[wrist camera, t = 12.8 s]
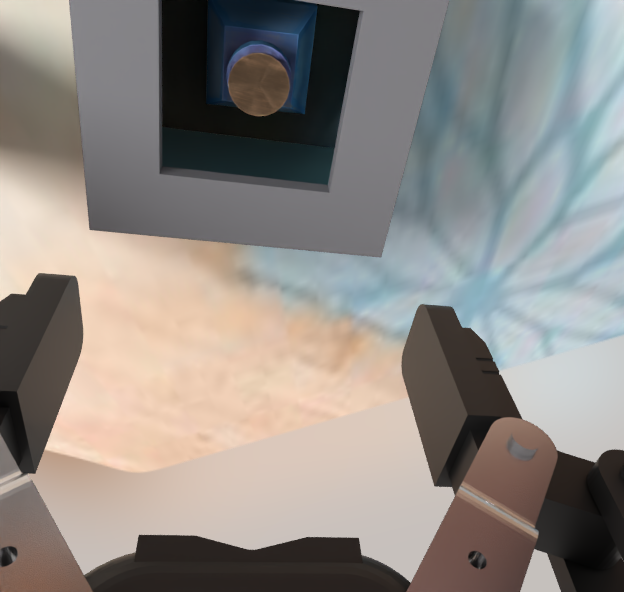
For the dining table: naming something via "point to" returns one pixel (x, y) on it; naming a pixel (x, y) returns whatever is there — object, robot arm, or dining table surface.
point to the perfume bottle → (259, 54)
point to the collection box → (243, 150)
